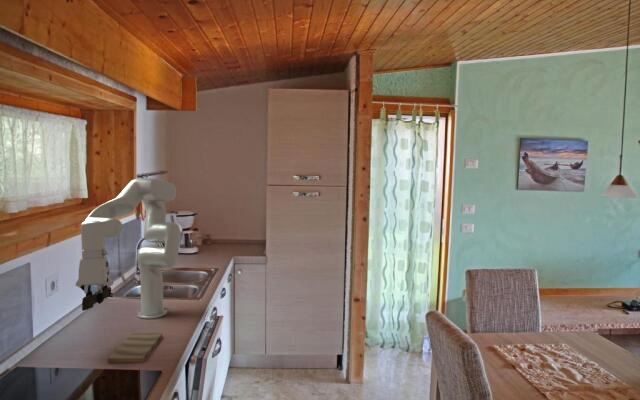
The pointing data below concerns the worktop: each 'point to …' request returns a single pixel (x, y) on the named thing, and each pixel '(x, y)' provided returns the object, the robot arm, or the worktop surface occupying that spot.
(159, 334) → the board
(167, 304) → the worktop surface
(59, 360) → the worktop surface
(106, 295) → the hand tool
